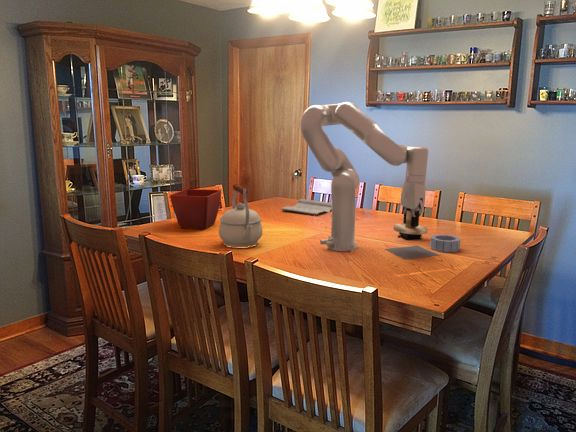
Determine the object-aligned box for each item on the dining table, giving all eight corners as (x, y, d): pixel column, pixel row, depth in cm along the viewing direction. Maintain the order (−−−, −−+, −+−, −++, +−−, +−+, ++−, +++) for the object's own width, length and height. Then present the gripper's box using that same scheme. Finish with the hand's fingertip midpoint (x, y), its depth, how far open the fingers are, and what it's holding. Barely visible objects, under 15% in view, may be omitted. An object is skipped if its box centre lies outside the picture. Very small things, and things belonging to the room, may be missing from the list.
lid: (405, 235, 187) (407, 215, 185) (387, 227, 198) (388, 208, 197) (434, 233, 191) (436, 214, 190) (414, 225, 203) (416, 207, 201)
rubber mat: (405, 260, 187) (405, 259, 187) (384, 250, 201) (384, 249, 201) (440, 256, 193) (440, 255, 192) (417, 246, 206) (417, 245, 206)
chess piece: (406, 241, 215) (408, 196, 210) (397, 237, 222) (399, 193, 218) (422, 240, 217) (425, 195, 213) (413, 236, 224) (416, 192, 220)
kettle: (213, 240, 216) (212, 183, 211) (254, 236, 222) (253, 181, 217) (227, 255, 193) (226, 192, 188) (272, 250, 199) (272, 189, 194)
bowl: (442, 254, 195) (443, 242, 194) (424, 247, 205) (425, 235, 204) (465, 252, 199) (466, 240, 198) (447, 245, 209) (447, 233, 208)
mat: (280, 212, 277) (280, 204, 276) (301, 206, 297) (302, 198, 296) (317, 217, 265) (317, 208, 264) (336, 210, 285) (336, 202, 284)
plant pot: (170, 229, 235) (168, 194, 231) (187, 221, 253) (186, 188, 249) (208, 232, 230) (207, 196, 227) (222, 223, 248) (222, 190, 245)
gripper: (395, 175, 197) (391, 220, 201) (420, 182, 182) (415, 230, 186) (411, 175, 199) (406, 219, 203) (437, 182, 184) (431, 229, 188)
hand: (410, 224), depth 194 cm, fingers closed on lid, 4 cm apart
